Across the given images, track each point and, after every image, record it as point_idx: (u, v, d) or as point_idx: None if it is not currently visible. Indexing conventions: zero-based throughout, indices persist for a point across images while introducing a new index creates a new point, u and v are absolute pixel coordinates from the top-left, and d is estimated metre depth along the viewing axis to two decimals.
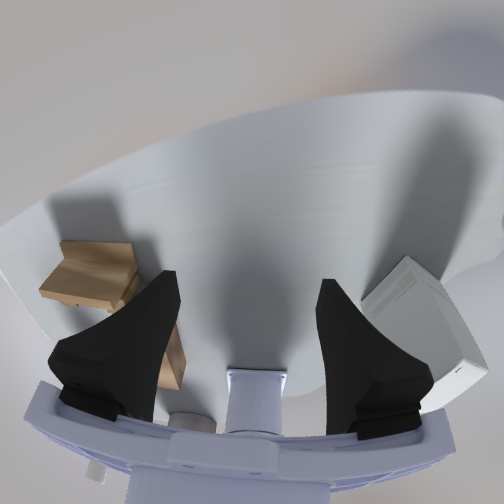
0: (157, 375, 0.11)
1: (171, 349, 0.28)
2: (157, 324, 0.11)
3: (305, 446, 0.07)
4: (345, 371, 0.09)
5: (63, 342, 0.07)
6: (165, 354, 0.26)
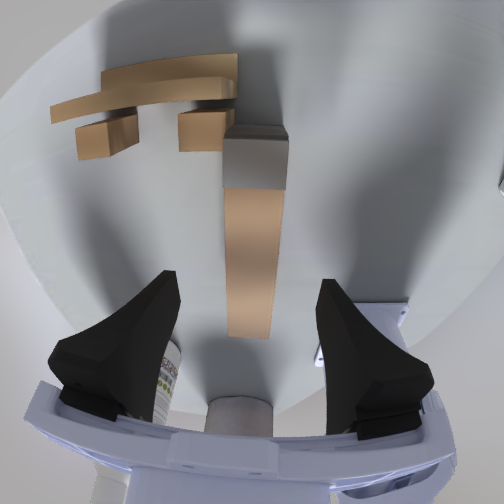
0: (157, 375, 0.11)
1: None
2: (157, 324, 0.11)
3: (305, 446, 0.07)
4: (345, 371, 0.09)
5: (62, 342, 0.07)
6: (277, 244, 0.15)
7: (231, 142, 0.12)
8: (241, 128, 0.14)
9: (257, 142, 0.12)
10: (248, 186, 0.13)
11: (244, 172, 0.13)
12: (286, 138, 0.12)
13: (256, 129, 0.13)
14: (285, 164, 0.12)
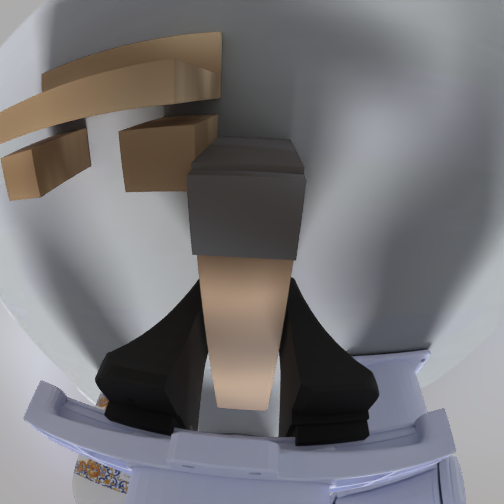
0: (201, 381, 0.11)
1: None
2: (203, 329, 0.11)
3: (305, 446, 0.07)
4: (288, 372, 0.09)
5: (112, 355, 0.07)
6: (280, 325, 0.10)
7: (202, 181, 0.07)
8: (224, 148, 0.09)
9: (248, 181, 0.07)
10: (234, 254, 0.08)
11: (226, 232, 0.07)
12: (301, 172, 0.07)
13: (248, 150, 0.08)
14: (298, 219, 0.07)
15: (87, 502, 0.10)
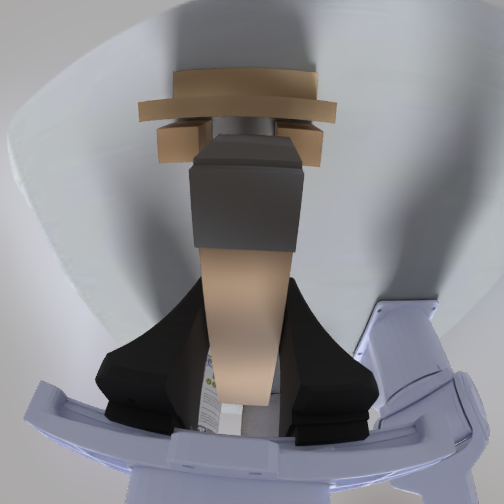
0: (201, 382, 0.11)
1: None
2: (203, 329, 0.11)
3: (305, 446, 0.07)
4: (288, 372, 0.09)
5: (112, 355, 0.07)
6: (280, 318, 0.10)
7: (204, 175, 0.07)
8: (225, 145, 0.09)
9: (248, 175, 0.07)
10: (235, 246, 0.08)
11: (227, 225, 0.08)
12: (299, 166, 0.07)
13: (248, 146, 0.09)
14: (296, 212, 0.07)
15: None
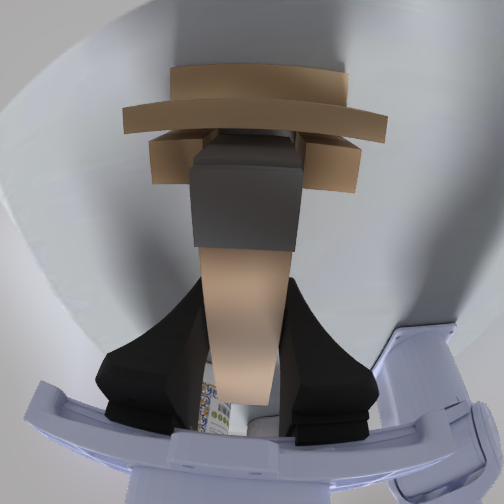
0: (201, 382, 0.11)
1: None
2: (203, 329, 0.11)
3: (305, 446, 0.07)
4: (288, 372, 0.09)
5: (113, 355, 0.07)
6: (280, 317, 0.10)
7: (204, 175, 0.07)
8: (225, 144, 0.09)
9: (248, 175, 0.07)
10: (235, 246, 0.08)
11: (227, 224, 0.08)
12: (298, 166, 0.07)
13: (248, 146, 0.09)
14: (296, 211, 0.07)
15: None
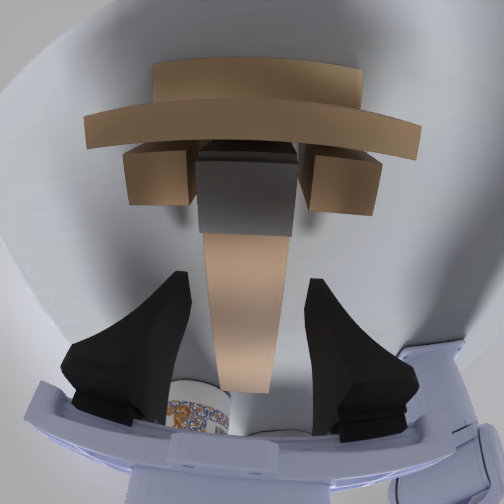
0: (170, 377, 0.11)
1: None
2: (170, 326, 0.11)
3: (305, 446, 0.07)
4: (329, 372, 0.09)
5: (76, 346, 0.07)
6: (279, 301, 0.11)
7: (208, 166, 0.08)
8: (227, 140, 0.10)
9: (248, 166, 0.08)
10: (236, 231, 0.09)
11: (230, 211, 0.08)
12: (294, 158, 0.08)
13: (249, 142, 0.09)
14: (292, 199, 0.08)
15: None
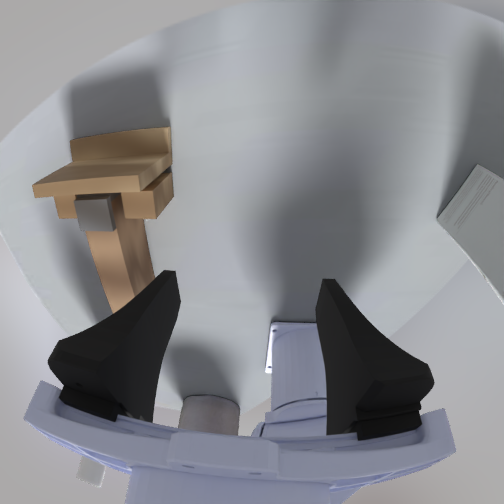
0: (157, 375, 0.11)
1: (136, 266, 0.21)
2: (157, 324, 0.11)
3: (305, 446, 0.07)
4: (345, 371, 0.09)
5: (63, 342, 0.07)
6: (125, 267, 0.19)
7: (78, 202, 0.16)
8: None
9: (90, 201, 0.16)
10: (93, 229, 0.17)
11: (88, 221, 0.17)
12: (108, 195, 0.16)
13: None
14: (108, 214, 0.16)
15: None
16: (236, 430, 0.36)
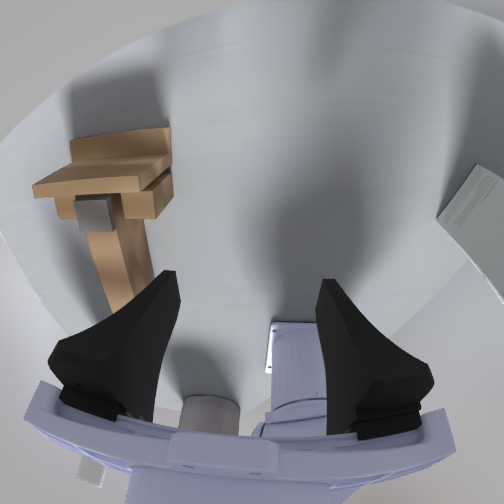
0: (157, 375, 0.11)
1: (135, 267, 0.21)
2: (157, 324, 0.11)
3: (305, 446, 0.07)
4: (345, 371, 0.09)
5: (63, 342, 0.07)
6: (124, 267, 0.19)
7: (78, 202, 0.16)
8: None
9: (89, 202, 0.16)
10: (92, 230, 0.17)
11: (88, 221, 0.17)
12: (108, 196, 0.16)
13: None
14: (108, 214, 0.16)
15: None
16: (236, 430, 0.36)
